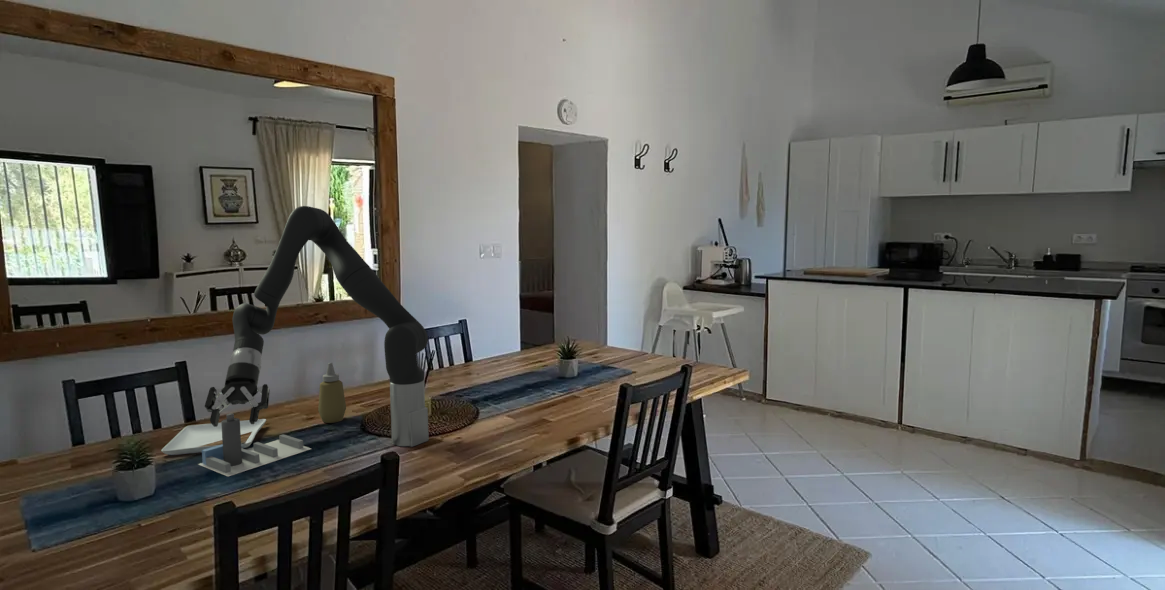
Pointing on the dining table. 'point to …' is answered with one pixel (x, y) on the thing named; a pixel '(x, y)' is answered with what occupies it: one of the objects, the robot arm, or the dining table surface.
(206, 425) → the salad plate
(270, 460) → the divider rack
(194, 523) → the dining table surface
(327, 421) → the squeeze bottle
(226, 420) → the dark grey bottle
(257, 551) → the dining table surface
